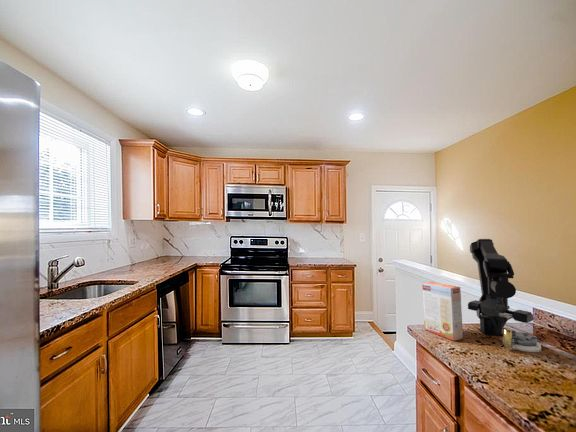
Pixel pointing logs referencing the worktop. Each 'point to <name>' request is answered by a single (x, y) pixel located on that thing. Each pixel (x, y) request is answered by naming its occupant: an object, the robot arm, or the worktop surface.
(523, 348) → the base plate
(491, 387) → the worktop surface
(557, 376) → the worktop surface
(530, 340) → the grey piece
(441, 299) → the cracker box
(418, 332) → the worktop surface
